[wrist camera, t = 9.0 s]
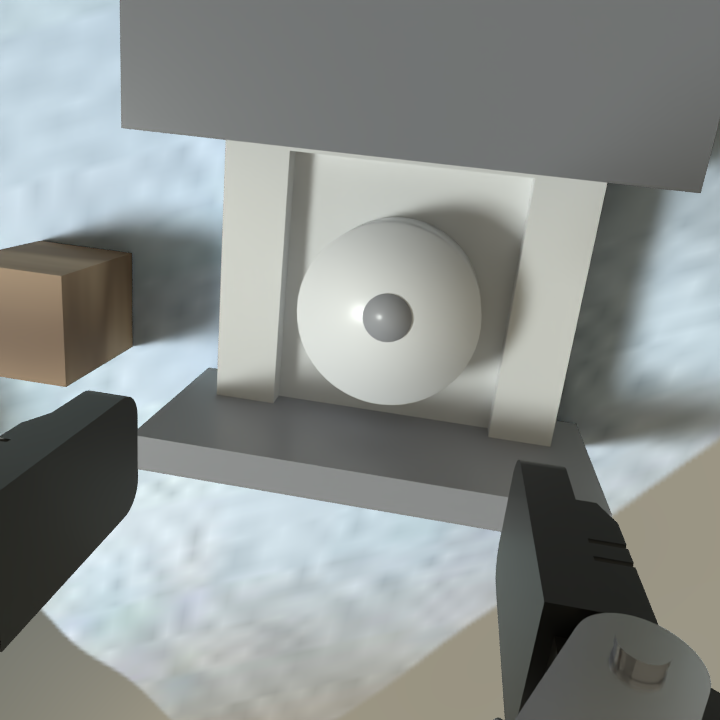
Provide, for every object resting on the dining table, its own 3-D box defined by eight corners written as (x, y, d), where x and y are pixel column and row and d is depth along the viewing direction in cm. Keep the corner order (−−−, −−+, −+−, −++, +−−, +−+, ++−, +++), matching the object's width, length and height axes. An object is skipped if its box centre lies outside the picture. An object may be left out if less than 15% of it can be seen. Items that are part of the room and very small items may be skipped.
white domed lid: (317, 210, 23) (299, 216, 21) (490, 224, 22) (492, 232, 20) (309, 372, 25) (293, 394, 23) (470, 390, 24) (470, 415, 22)
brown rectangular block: (40, 240, 27) (-49, 260, 23) (131, 253, 27) (61, 275, 22) (44, 333, 29) (-38, 370, 24) (132, 346, 28) (65, 386, 24)
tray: (221, -52, 23) (126, -129, 16) (675, -16, 21) (767, -86, 15) (207, 399, 28) (131, 474, 22) (568, 456, 26) (601, 556, 20)
